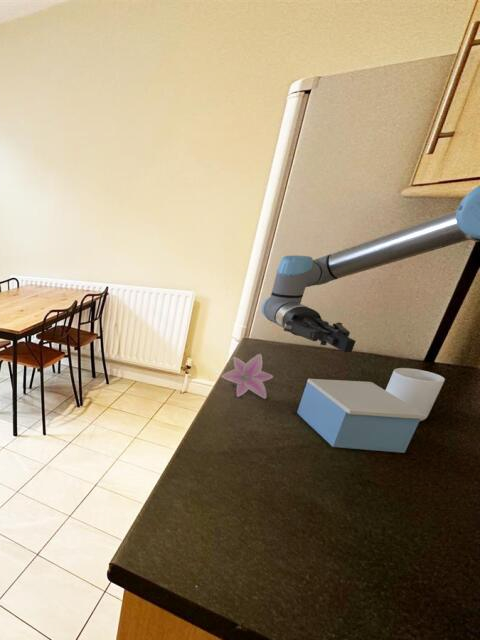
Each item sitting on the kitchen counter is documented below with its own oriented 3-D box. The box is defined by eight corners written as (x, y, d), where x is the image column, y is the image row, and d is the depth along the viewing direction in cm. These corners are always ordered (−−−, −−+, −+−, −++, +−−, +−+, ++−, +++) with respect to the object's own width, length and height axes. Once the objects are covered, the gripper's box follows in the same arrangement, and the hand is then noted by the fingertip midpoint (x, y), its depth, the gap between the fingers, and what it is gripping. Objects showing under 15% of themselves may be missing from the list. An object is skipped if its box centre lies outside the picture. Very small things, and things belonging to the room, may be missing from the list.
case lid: (425, 419, 80) (426, 415, 79) (348, 414, 83) (350, 410, 82) (370, 385, 94) (371, 381, 94) (307, 381, 97) (308, 378, 97)
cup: (381, 416, 98) (398, 377, 94) (371, 397, 107) (386, 361, 103) (431, 425, 93) (450, 384, 89) (416, 404, 103) (433, 366, 98)
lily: (208, 393, 114) (226, 372, 106) (219, 366, 120) (236, 344, 112) (254, 414, 110) (276, 393, 102) (262, 385, 116) (284, 363, 108)
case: (404, 452, 84) (421, 417, 81) (332, 446, 87) (346, 412, 83) (357, 417, 98) (370, 385, 94) (296, 412, 101) (307, 381, 97)
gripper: (321, 333, 114) (377, 363, 93) (268, 331, 117) (311, 360, 96) (329, 306, 111) (390, 331, 90) (275, 305, 114) (321, 329, 93)
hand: (349, 346), depth 93 cm, fingers closed
